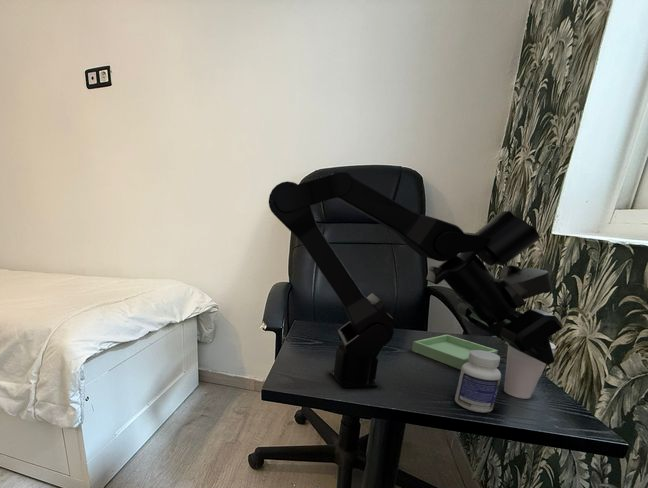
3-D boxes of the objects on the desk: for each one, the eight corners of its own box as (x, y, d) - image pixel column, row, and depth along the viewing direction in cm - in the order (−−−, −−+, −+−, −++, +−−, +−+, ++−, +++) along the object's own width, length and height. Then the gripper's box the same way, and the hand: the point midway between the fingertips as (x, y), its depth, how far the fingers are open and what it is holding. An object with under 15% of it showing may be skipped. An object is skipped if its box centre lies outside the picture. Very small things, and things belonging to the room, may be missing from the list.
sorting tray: (461, 370, 71) (463, 359, 71) (411, 350, 81) (413, 341, 80) (495, 360, 77) (498, 350, 76) (445, 343, 86) (447, 334, 86)
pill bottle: (499, 415, 55) (513, 362, 53) (462, 411, 56) (474, 359, 54) (483, 398, 60) (495, 349, 58) (449, 395, 61) (459, 346, 59)
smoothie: (550, 403, 59) (575, 323, 55) (512, 402, 59) (534, 322, 55) (521, 385, 65) (541, 312, 62) (486, 384, 66) (504, 311, 62)
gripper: (566, 258, 47) (633, 341, 49) (488, 245, 65) (538, 307, 67) (489, 312, 50) (554, 388, 52) (434, 286, 68) (484, 343, 70)
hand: (531, 351), depth 60 cm, fingers open, 9 cm apart
